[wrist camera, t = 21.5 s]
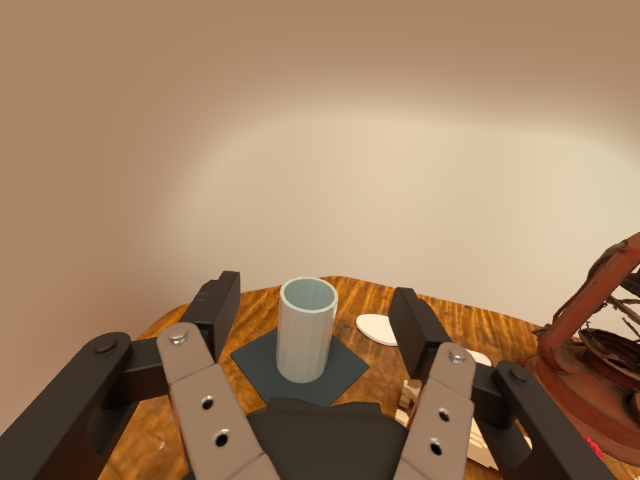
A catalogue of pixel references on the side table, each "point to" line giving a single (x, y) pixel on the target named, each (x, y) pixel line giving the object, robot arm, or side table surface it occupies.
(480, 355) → the spoon
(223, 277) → the robot arm
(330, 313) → the pale grey cylindrical cup
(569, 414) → the lantern
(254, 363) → the back mat
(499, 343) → the side table surface
